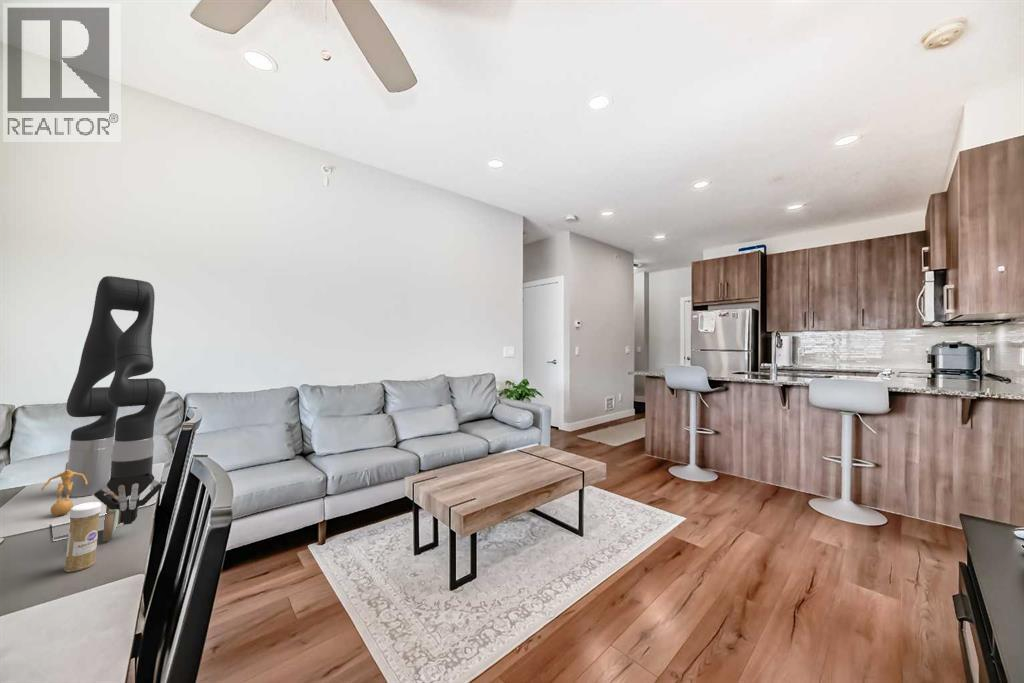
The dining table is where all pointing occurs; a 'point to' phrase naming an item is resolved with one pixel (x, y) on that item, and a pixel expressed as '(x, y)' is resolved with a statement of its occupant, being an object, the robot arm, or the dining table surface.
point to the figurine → (61, 505)
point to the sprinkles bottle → (82, 536)
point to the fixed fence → (109, 508)
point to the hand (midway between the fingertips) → (128, 523)
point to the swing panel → (110, 524)
